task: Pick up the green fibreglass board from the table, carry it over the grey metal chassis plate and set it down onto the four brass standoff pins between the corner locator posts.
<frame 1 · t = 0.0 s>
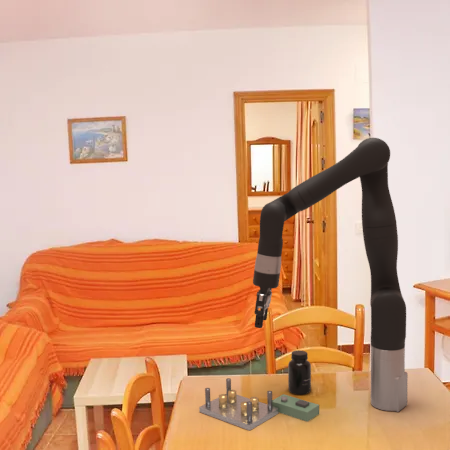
hand: (260, 323, 162), 22 cm above the table, tool pointing down, fingers open, 8 cm apart
supplement bottle: (299, 391, 168), on the table
board: (294, 413, 154), on the table
chassis: (238, 412, 154), on the table
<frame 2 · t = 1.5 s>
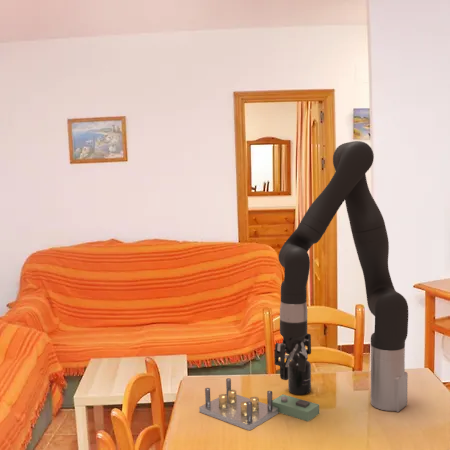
hand: (293, 375, 153), 11 cm above the table, tool pointing down, fingers open, 8 cm apart
nothing on the table moved.
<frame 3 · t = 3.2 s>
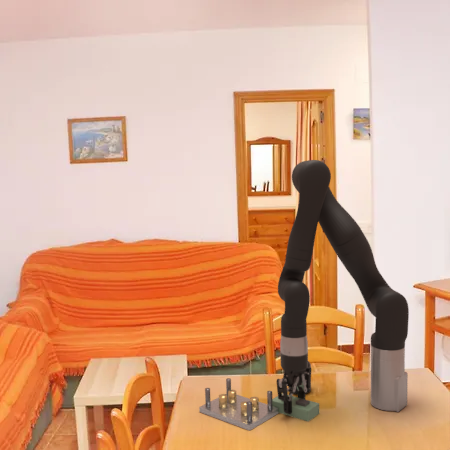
hand: (294, 408, 154), 1 cm above the table, tool pointing down, fingers closed on board, 6 cm apart
board: (294, 412, 154), on the table, touching gripper
everything else where it was.
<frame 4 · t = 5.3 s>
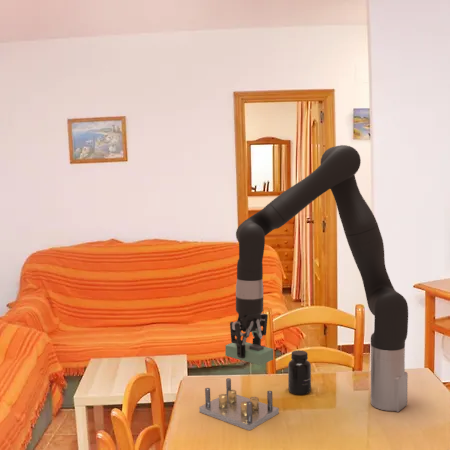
hand: (249, 354, 152), 17 cm above the table, tool pointing down, fingers closed on board, 6 cm apart
board: (249, 357, 152), point 16 cm above the table, touching gripper
everything else where it was.
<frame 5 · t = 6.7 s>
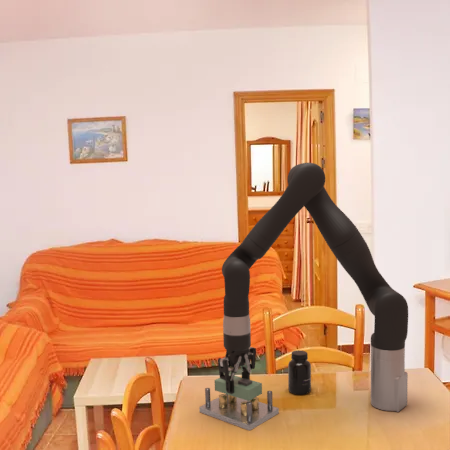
hand: (238, 388, 153), 7 cm above the table, tool pointing down, fingers closed on board, 6 cm apart
board: (238, 392, 153), point 6 cm above the table, touching gripper
everything else where it was.
when the fingers open (7 cm above the table, at t = 7.6 s): board drops 1 cm, resting on chassis.
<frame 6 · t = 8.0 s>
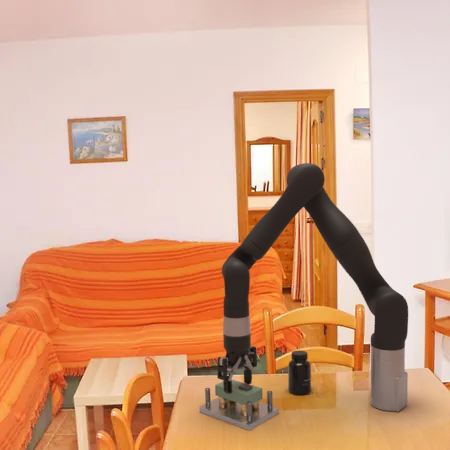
hand: (238, 388, 153), 7 cm above the table, tool pointing down, fingers open, 8 cm apart
board: (238, 397, 154), point 4 cm above the table, touching chassis
everything else where it was.
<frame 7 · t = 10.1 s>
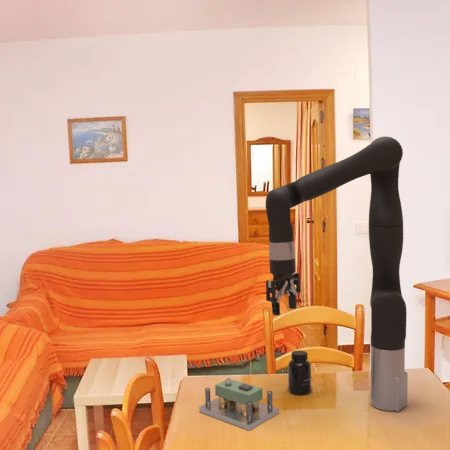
hand: (284, 311, 161), 26 cm above the table, tool pointing down, fingers open, 8 cm apart
nothing on the table moved.
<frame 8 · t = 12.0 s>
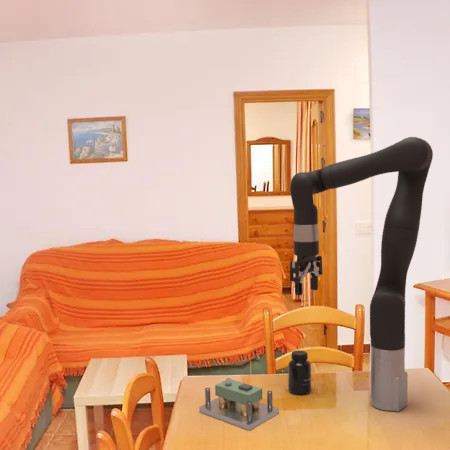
hand: (306, 292, 167), 30 cm above the table, tool pointing down, fingers open, 8 cm apart
nothing on the table moved.
at the end: board 0.1 cm off-centre on the chassis, point 4.5 cm above the chassis's base; board tilted 0°; the gripper is holding nothing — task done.
